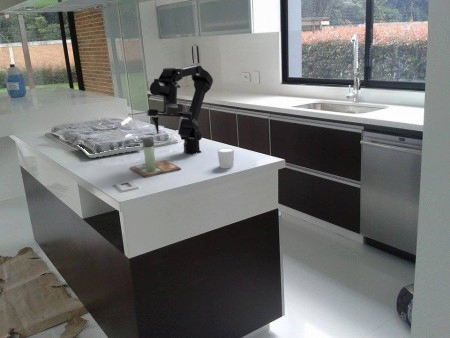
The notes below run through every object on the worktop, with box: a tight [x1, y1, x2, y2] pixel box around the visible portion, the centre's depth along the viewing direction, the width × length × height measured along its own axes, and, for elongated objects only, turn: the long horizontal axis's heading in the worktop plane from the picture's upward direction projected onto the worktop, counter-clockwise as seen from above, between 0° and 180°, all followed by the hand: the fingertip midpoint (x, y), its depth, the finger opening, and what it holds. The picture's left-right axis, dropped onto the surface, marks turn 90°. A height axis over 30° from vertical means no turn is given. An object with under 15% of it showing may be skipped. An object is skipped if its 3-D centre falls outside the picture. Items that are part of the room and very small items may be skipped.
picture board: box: [129, 159, 182, 178], centre depth 179 cm, size 16×16×1 cm
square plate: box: [76, 143, 144, 159], centre depth 215 cm, size 27×27×4 cm
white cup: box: [217, 147, 235, 169], centre depth 177 cm, size 7×7×7 cm
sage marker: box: [142, 137, 156, 171], centre depth 173 cm, size 4×4×13 cm
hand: (168, 134), depth 186 cm, fingers open, 9 cm apart
